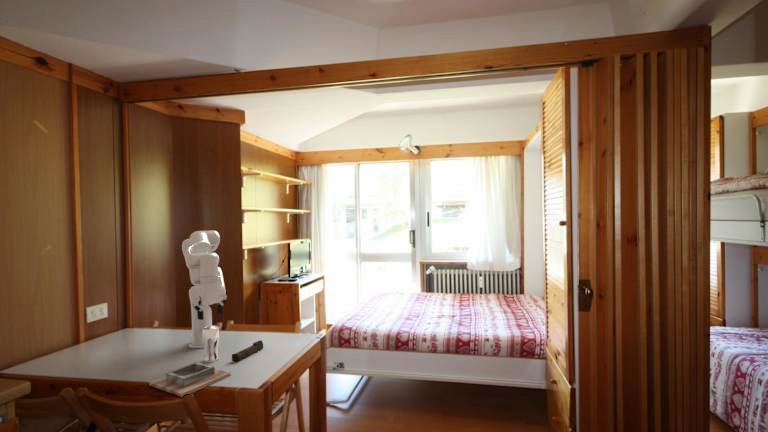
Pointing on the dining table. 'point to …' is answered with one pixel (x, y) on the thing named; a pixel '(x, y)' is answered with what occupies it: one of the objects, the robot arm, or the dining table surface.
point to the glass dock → (189, 379)
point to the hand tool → (247, 351)
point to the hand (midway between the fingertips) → (210, 316)
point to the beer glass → (211, 343)
